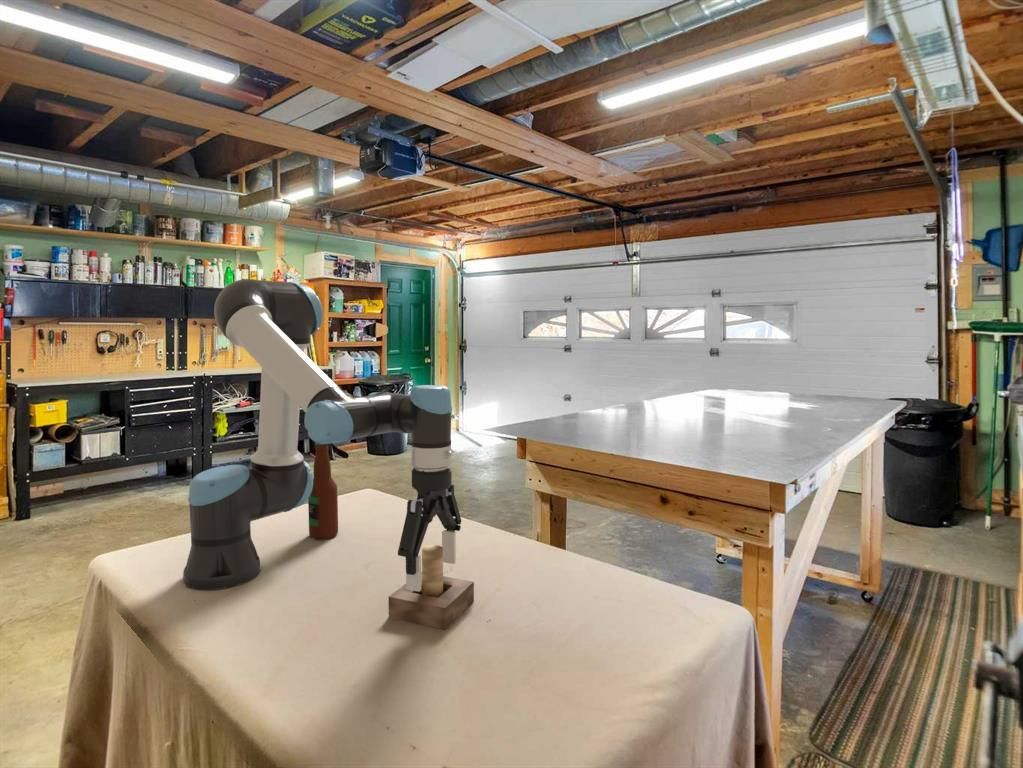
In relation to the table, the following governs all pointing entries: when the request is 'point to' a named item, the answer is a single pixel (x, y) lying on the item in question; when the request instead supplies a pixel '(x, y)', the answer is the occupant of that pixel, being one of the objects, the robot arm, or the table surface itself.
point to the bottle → (323, 498)
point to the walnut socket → (432, 603)
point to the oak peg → (432, 571)
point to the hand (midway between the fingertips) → (432, 575)
